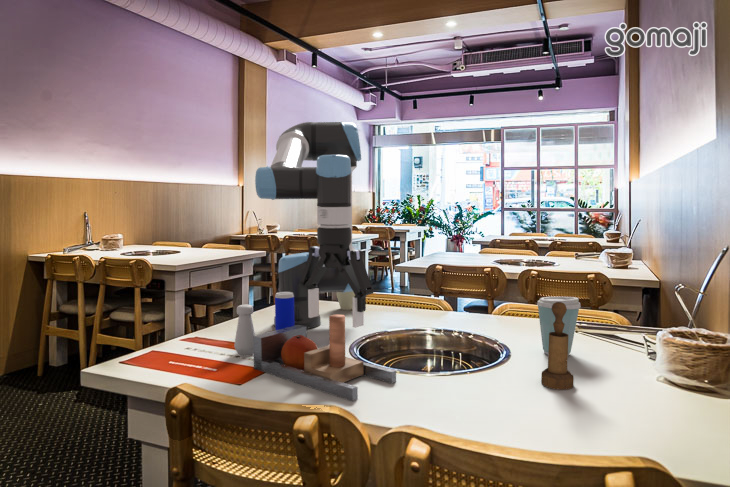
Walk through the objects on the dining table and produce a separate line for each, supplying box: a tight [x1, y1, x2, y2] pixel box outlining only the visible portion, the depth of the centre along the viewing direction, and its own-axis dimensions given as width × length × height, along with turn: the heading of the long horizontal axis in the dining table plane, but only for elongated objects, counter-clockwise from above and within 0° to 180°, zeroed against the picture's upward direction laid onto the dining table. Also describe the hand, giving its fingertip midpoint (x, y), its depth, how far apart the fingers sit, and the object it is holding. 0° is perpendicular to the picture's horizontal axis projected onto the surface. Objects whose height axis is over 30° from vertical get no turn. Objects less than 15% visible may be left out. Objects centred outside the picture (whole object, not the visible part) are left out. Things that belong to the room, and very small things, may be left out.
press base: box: [253, 325, 397, 402], centre depth 116 cm, size 14×32×8 cm, turn 50°
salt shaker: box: [233, 303, 256, 357], centre depth 132 cm, size 6×6×13 cm
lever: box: [303, 313, 364, 383], centre depth 113 cm, size 11×8×14 cm
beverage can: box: [274, 291, 294, 330], centre depth 139 cm, size 5×5×15 cm
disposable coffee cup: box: [536, 296, 582, 357], centre depth 132 cm, size 11×11×15 cm
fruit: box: [281, 335, 319, 371], centre depth 121 cm, size 9×9×8 cm
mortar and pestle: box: [540, 302, 574, 391], centre depth 109 cm, size 7×6×18 cm
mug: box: [335, 292, 355, 311], centre depth 189 cm, size 11×10×12 cm
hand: (335, 321), depth 113 cm, fingers open, 13 cm apart
